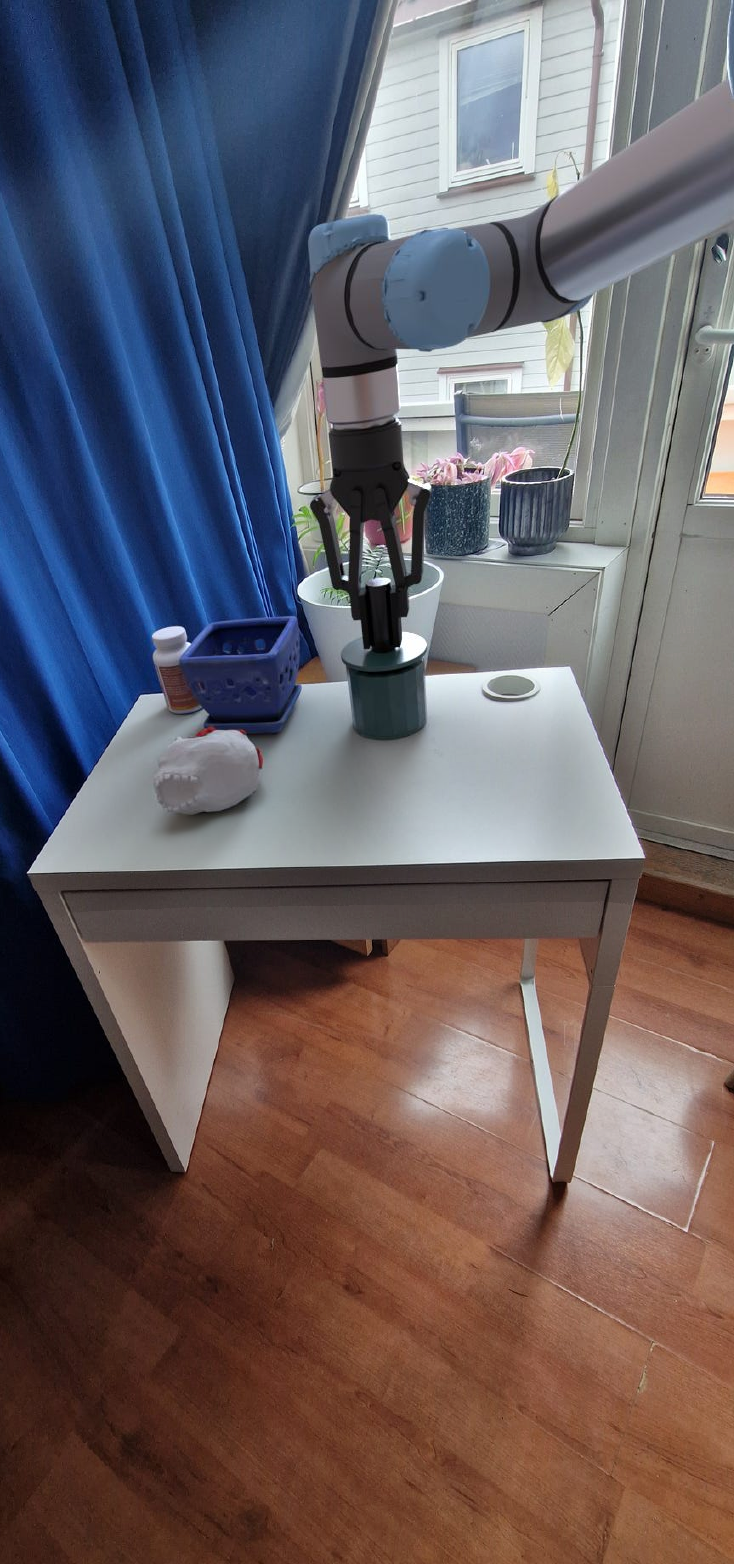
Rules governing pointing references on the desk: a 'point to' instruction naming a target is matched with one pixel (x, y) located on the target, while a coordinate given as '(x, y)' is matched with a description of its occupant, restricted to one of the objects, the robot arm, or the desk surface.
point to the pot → (388, 701)
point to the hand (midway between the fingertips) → (383, 643)
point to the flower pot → (245, 673)
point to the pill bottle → (173, 669)
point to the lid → (382, 636)
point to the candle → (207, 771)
